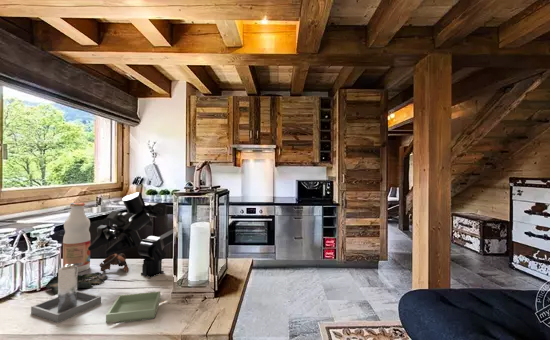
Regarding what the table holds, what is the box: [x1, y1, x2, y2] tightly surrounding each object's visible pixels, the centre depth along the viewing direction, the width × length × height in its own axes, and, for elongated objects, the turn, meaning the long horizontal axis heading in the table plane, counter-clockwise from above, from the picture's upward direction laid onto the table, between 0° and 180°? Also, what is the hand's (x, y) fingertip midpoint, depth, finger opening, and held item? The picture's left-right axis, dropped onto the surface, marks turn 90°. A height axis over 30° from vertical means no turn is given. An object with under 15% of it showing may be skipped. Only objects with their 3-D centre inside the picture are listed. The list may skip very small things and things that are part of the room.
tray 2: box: [105, 291, 161, 324], centre depth 83 cm, size 12×12×3 cm
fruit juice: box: [62, 202, 91, 273], centre depth 117 cm, size 9×9×28 cm
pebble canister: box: [57, 264, 78, 312], centre depth 83 cm, size 5×5×13 cm
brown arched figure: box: [99, 253, 129, 273], centre depth 116 cm, size 12×10×8 cm
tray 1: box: [30, 290, 102, 324], centre depth 83 cm, size 12×12×3 cm
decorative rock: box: [44, 271, 108, 296], centre depth 101 cm, size 19×6×15 cm
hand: (97, 251), depth 93 cm, fingers open, 9 cm apart
